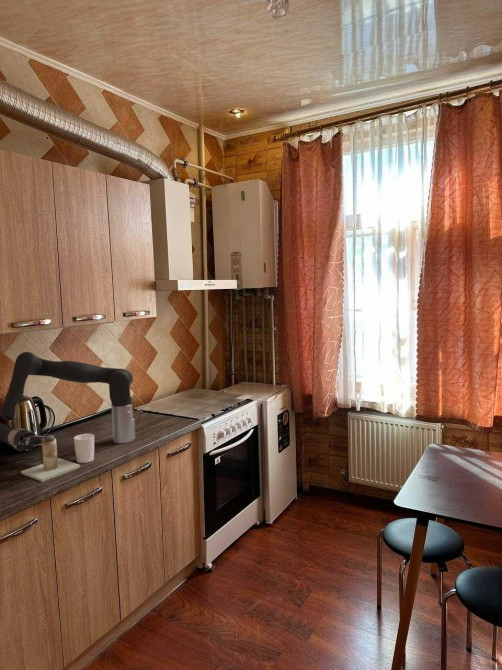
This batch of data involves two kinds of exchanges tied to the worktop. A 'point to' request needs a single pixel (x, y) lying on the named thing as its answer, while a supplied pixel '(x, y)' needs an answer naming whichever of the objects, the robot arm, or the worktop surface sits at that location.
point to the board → (44, 475)
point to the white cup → (84, 448)
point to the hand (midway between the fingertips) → (44, 445)
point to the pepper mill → (49, 453)
